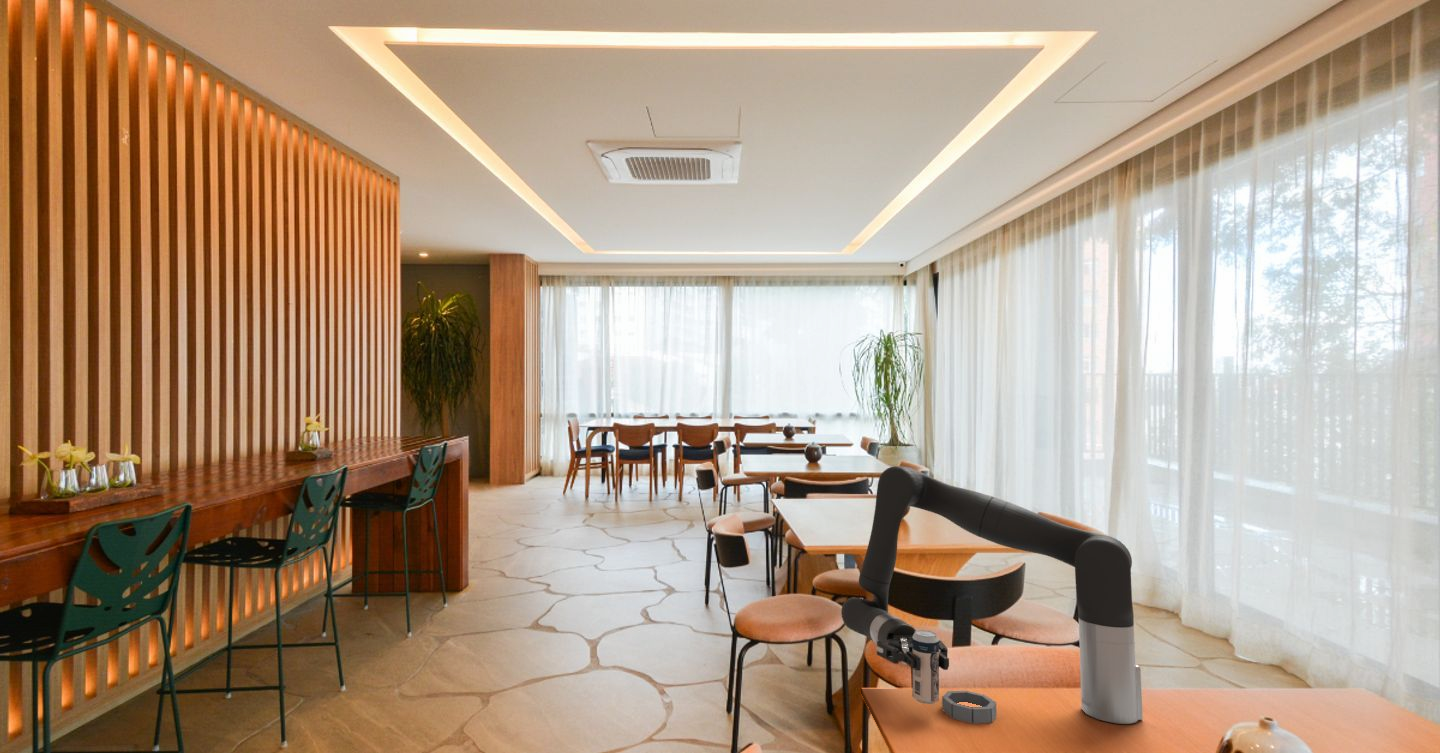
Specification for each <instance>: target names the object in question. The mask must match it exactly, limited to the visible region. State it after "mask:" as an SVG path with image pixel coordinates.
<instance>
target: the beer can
mask: <svg viewBox="0 0 1440 753" xmlns="http://www.w3.org/2000/svg"><path fill="white" fill-rule="evenodd" d="M912 638H913V654H915V655H916V656H917V657H919V658H920V670H915V669H913V668H912V692H911V693H912V695H911V696H912V698H913V699H914V700H915V701H917V702H918V703H922V704H927V705H929V704H932V705H933V704H935V703H936V702H938V701H939V700H940V667H939V640H940V639H939V638H938V635H937V633H936V632H934V631H931V630H922V629H921V630H916V631H915V633H914V635H913V637H912Z"/></svg>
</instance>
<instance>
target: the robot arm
mask: <svg viewBox="0 0 1440 753" xmlns="http://www.w3.org/2000/svg"><path fill="white" fill-rule="evenodd" d="M875 497H876V498H875V506H874V514H873V520H872V527H871V532H870V536H869V539H868V544H867V549H866V552H865V556H864V558H863V562H862V566H861V570H860V572H859V576H858V585H859V586H860V588H861V589H862V590H865V591H866V592H868V593H870V594H872V595H873V598H872V600H870V599H865V598H861V597H853V596H852V597H849V598H847V600H845V601H844V603H843V604H842V607H841V609H840V610H841V619H842V622H843V623H844V625H845V626H846V627H847V628H848V629H849V630H851V631H853V632H856V633H857V634H859V635H860V634H861V635H863V636H865V637H867V638H869V639H870V640H871V641H872V642H873V643H874V644H875V645H876V656H879V657H881V658H882V659H885V660H887V661H888V662H890V663H892V664H894V665H897V664H899V663H900V662H901V663H902V665H905V666H909V667H910V668H912V670H913V669H915V670H920V658H919V657H917V656H916V655H915V654H913V638H912V637H913V635H914V633H915V631H917V630H916V628H914V627H913V625H910V624H908V623H907V622H906V621H904V620H903V619H901V618H899V617H898V616H896V615H893V614H891V613H889V590H890V585H891V581H892V578H893V574H894V570H895V567H896V562H897V555H898V539H899V538H898V537H899V531H900V528H901V523H902V521H903V517H904V515H905V513H906V510H907V508H908V507H912V508H917V509H920V510H922V511H923V510H924V511H927V512H931V513H933V514H936V515H938V516H941V517H943V518H945V519H947V520H949V521H950V522H951V523H953V524H955V525H956V526H958V527H959V528H961V529H963V530H964V531H966V532H968V533H969V534H972V535H974V536H977V537H979V538H981V539H984V540H986V541H988V542H992V543H994V544H997V545H1000V546H1003V547H1006V548H1009V549H1010V548H1011V549H1015V550H1019V551H1024V552H1029V553H1034V554H1038V555H1042V556H1047V557H1050V558H1052V559H1055V560H1057V561H1060V562H1063V563H1065V564H1067V565H1069V566H1072V567H1073V568H1074V574H1075V575H1074V576H1075V595H1076V596H1075V598H1076V599H1075V600H1076V605H1077V611H1078V614H1077V615H1078V636H1079V637H1078V638H1079V639H1078V641H1079V666H1080V672H1079V673H1080V674H1079V675H1080V698H1081V702H1080V703H1081V710H1083V711H1084V712H1085V714H1086V715H1087V716H1089V717H1091V718H1094V719H1096V720H1100V721H1103V722H1108V723H1112V724H1120V725H1130V724H1134V723H1137V722H1138V721H1142V720H1143V718H1144V716H1143V696H1142V694H1143V693H1142V674H1141V672H1142V671H1141V667H1140V666H1139V665H1138V664H1136V647H1135V646H1136V642H1135V624H1134V623H1135V622H1134V607H1133V594H1132V593H1133V592H1132V589H1133V588H1132V571H1131V570H1132V565H1133V561H1132V555H1131V553H1130V551H1129V549H1128V548H1127V547H1126V545H1125V544H1123V543H1122V541H1121V540H1118V539H1117V538H1114V537H1112V536H1111V535H1106V534H1101V533H1097V532H1092V531H1088V530H1084V529H1080V528H1077V527H1073V526H1071V525H1070V526H1069V525H1066V524H1064V523H1063V524H1062V523H1060V522H1057V521H1055V520H1052V519H1050V518H1048V517H1046V516H1043V515H1041V514H1040V513H1037V512H1034V511H1032V510H1029V509H1027V508H1024V507H1022V506H1019V505H1017V504H1014V503H1012V502H1009V501H1007V500H1003V499H1001V498H997V497H994V496H992V495H989V494H985V493H982V492H978V491H975V490H970V489H966V488H963V487H957V486H954V485H951V484H948V483H945V482H943V481H941V480H938V479H936V478H934V477H931V476H929V475H928V474H925V473H923V472H921V471H919V470H917V469H915V468H914V467H910V466H899V465H894V466H891V467H888V468H886V469H884V470H883V471H882V473H881V474H880V475H879V478H878V481H877V489H876V496H875ZM948 651H949V649H948V647H947V646H946V645H945V644H944V642H943V641H942V640H940V639H939V669H941V670H943V671H947V670H949V667H950V658H949V657H948V653H949V652H948ZM1083 711H1082V712H1083ZM1084 712H1083V713H1084Z"/></svg>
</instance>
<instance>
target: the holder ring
mask: <svg viewBox="0 0 1440 753" xmlns="http://www.w3.org/2000/svg"><path fill="white" fill-rule="evenodd" d="M941 700H942V701H941V702H942V703H941V704H942V705H941V707H942V709H943V710H944V711H945V712H946V713H947V714H948V715H949V718H951V719H953V720H958V721H961V722H964V723H969V724H974V725H977V724H978V725H979V724H992V723H993V722H994V721H995V720H996V718H997V717H996V716H998V715H997V714H998V713H997V712H998V711H997V702H996V701H995V700H993V699H992V698H990V697H989V696H988V695H985V694H981V693H977V692H974V691H969V690H948V691H946V692H945V693H944V694H943V695H942V697H941ZM959 702H968V703H972V704H976V705H980V706H982V707H969V706H965V705H961V704H957V703H959ZM942 709H941V710H942ZM943 710H942V711H943ZM944 711H943V712H944ZM945 712H944V713H945ZM946 713H945V714H946ZM947 714H946V715H947ZM948 715H947V716H948ZM995 717H996V718H995ZM994 719H995V720H994Z"/></svg>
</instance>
